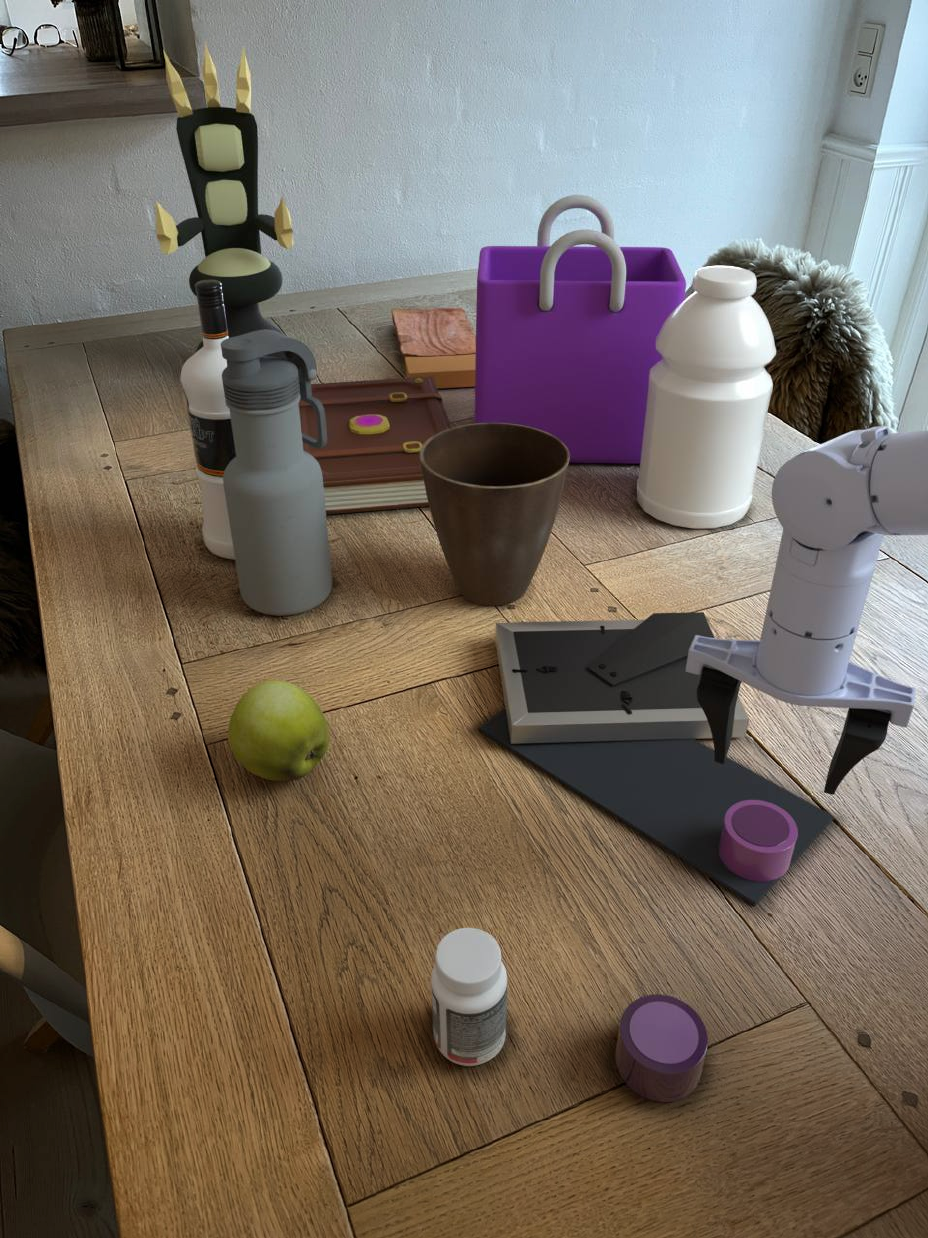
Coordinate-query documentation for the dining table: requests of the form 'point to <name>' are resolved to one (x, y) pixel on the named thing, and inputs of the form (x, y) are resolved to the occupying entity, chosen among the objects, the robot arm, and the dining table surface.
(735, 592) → the dining table surface
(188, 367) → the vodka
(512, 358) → the shopping bag
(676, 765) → the placemat
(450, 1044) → the pill bottle
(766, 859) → the plum dish
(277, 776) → the apple
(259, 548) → the water bottle
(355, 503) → the book
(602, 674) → the picture frame
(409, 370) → the wooden flat board
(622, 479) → the dining table surface
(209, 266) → the throne chair
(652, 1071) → the aubergine dish
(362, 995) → the dining table surface
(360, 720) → the dining table surface
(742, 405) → the bottle
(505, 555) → the plant pot
